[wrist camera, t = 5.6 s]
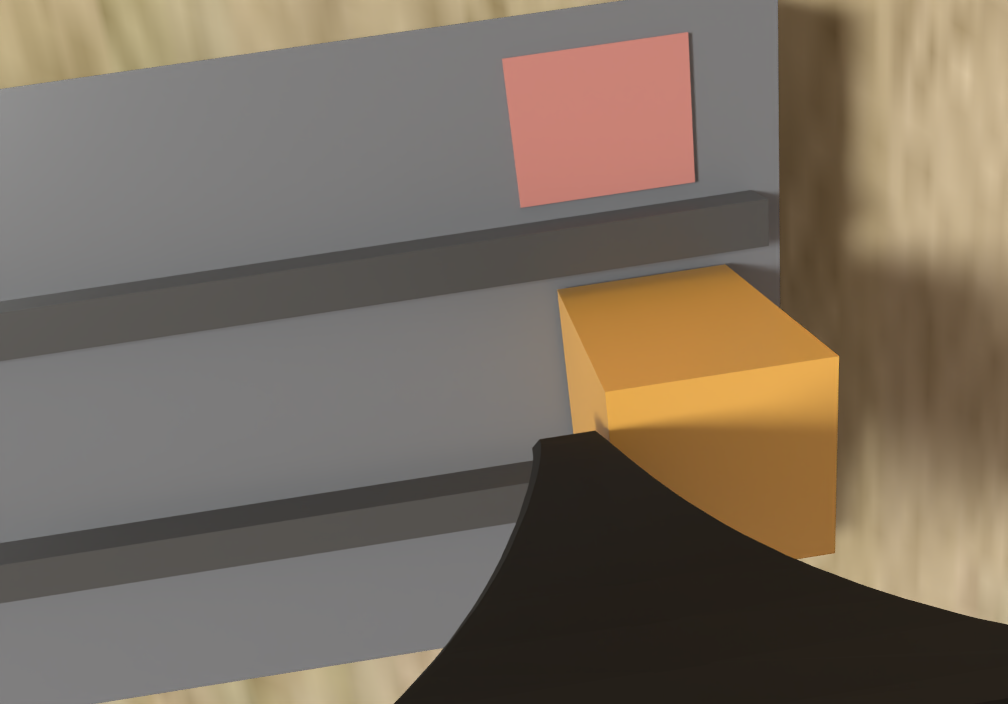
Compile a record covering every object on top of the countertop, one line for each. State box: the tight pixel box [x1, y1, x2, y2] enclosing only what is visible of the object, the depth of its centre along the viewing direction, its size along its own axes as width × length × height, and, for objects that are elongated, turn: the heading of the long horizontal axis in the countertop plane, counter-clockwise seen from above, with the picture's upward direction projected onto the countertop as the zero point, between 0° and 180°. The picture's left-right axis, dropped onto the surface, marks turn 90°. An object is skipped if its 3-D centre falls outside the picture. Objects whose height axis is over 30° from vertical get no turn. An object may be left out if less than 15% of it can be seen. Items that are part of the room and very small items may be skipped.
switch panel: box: [0, 0, 780, 704], centre depth 16 cm, size 12×18×4 cm, turn 97°
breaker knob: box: [557, 264, 839, 559], centre depth 13 cm, size 3×3×4 cm
